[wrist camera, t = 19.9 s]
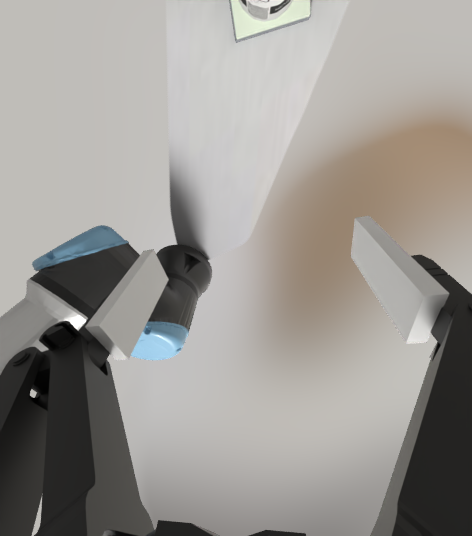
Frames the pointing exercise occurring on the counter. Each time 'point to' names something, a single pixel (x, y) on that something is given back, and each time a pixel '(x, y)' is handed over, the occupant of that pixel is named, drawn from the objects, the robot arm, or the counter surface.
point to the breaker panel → (251, 27)
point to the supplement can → (265, 8)
